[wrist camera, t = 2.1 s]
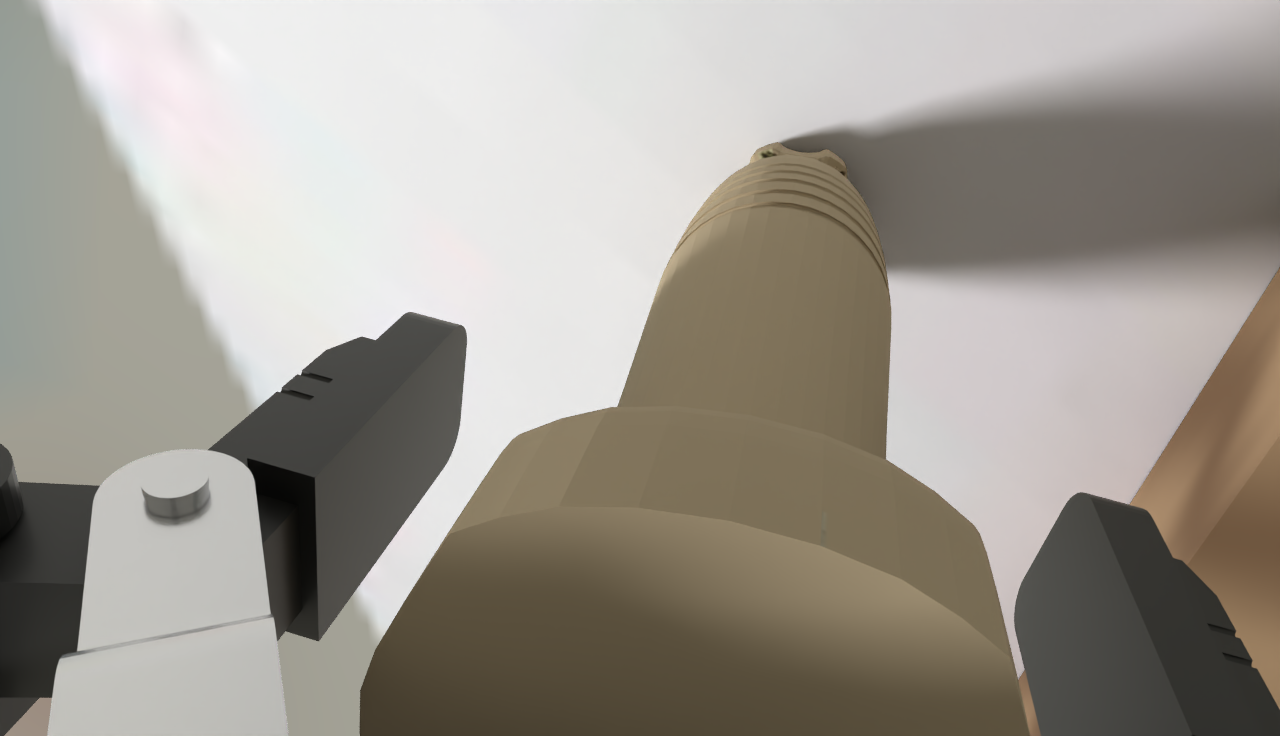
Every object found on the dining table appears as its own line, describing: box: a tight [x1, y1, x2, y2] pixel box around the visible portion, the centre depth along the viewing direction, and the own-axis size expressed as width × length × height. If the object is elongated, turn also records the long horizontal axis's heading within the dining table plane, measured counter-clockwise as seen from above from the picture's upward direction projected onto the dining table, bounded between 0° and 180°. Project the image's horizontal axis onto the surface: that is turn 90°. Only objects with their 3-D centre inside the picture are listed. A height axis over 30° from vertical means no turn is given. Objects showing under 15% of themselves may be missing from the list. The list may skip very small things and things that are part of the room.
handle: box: [360, 142, 1030, 736], centre depth 13 cm, size 5×6×15 cm
